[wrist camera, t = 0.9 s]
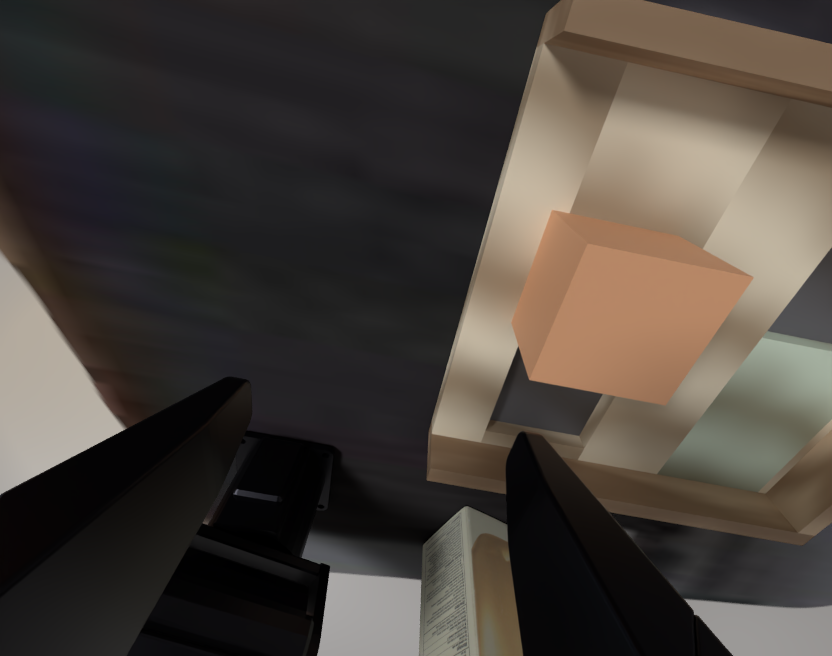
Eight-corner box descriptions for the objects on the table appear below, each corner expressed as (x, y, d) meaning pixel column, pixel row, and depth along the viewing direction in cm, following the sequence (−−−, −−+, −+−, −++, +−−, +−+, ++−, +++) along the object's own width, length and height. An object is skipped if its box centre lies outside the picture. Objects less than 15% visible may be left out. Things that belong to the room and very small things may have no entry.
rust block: (619, 343, 19) (665, 405, 15) (511, 322, 19) (529, 379, 15) (678, 235, 16) (753, 277, 12) (552, 209, 16) (587, 243, 12)
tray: (756, 489, 25) (802, 545, 22) (428, 430, 24) (426, 480, 21) (1106, 141, 14) (1294, 151, 11) (545, 13, 14) (578, -15, 10)
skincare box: (465, 561, 31) (477, 792, 21) (420, 542, 30) (409, 774, 20) (515, 523, 28) (558, 769, 18) (467, 501, 28) (483, 747, 17)
